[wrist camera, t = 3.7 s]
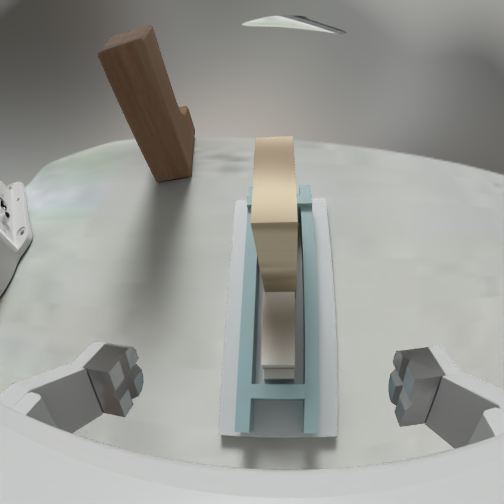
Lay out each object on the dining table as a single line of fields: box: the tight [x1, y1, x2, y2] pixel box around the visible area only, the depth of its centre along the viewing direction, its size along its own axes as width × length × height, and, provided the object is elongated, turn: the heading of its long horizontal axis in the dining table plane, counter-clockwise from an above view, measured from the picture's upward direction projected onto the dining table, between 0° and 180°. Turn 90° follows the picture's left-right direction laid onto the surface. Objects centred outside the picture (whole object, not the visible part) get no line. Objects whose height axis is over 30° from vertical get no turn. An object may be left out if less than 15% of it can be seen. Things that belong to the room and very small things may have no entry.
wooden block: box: [98, 25, 195, 182], centre depth 30 cm, size 9×4×18 cm, turn 4°
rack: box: [218, 185, 338, 438], centre depth 25 cm, size 22×9×4 cm, turn 177°
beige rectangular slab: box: [251, 136, 298, 298], centre depth 23 cm, size 7×2×11 cm, turn 177°
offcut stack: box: [261, 292, 295, 382], centre depth 23 cm, size 6×2×4 cm, turn 177°
